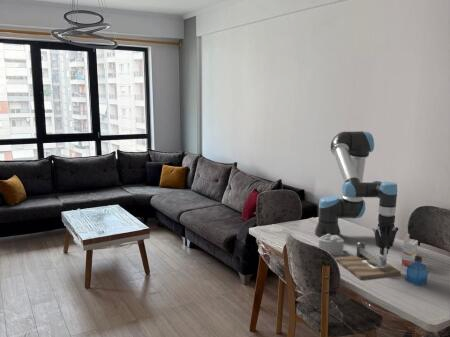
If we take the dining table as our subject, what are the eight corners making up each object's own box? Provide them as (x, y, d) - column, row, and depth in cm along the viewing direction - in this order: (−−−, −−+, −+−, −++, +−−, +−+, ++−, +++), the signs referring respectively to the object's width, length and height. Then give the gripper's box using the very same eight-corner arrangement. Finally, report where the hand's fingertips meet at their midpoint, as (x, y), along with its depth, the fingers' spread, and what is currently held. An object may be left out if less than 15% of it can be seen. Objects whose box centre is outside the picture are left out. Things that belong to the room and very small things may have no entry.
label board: (334, 260, 213) (334, 256, 212) (372, 256, 218) (372, 252, 218) (359, 279, 191) (359, 275, 190) (400, 274, 196) (400, 270, 196)
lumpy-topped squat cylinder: (345, 254, 221) (345, 238, 220) (321, 255, 220) (322, 239, 218) (337, 247, 232) (338, 232, 230) (315, 248, 230) (315, 233, 228)
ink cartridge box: (411, 267, 205) (414, 239, 202) (401, 264, 208) (403, 236, 205) (416, 262, 211) (418, 234, 209) (406, 259, 214) (408, 232, 212)
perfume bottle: (416, 285, 185) (419, 260, 182) (405, 280, 190) (408, 255, 188) (426, 283, 187) (429, 258, 185) (415, 278, 193) (417, 253, 190)
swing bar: (355, 254, 216) (355, 241, 215) (361, 253, 217) (362, 240, 216) (379, 270, 196) (380, 256, 195) (386, 269, 197) (387, 255, 196)
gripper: (379, 217, 192) (376, 264, 196) (403, 215, 196) (399, 262, 200) (370, 213, 199) (367, 258, 204) (393, 211, 203) (389, 256, 207)
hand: (383, 260), depth 202 cm, fingers closed
